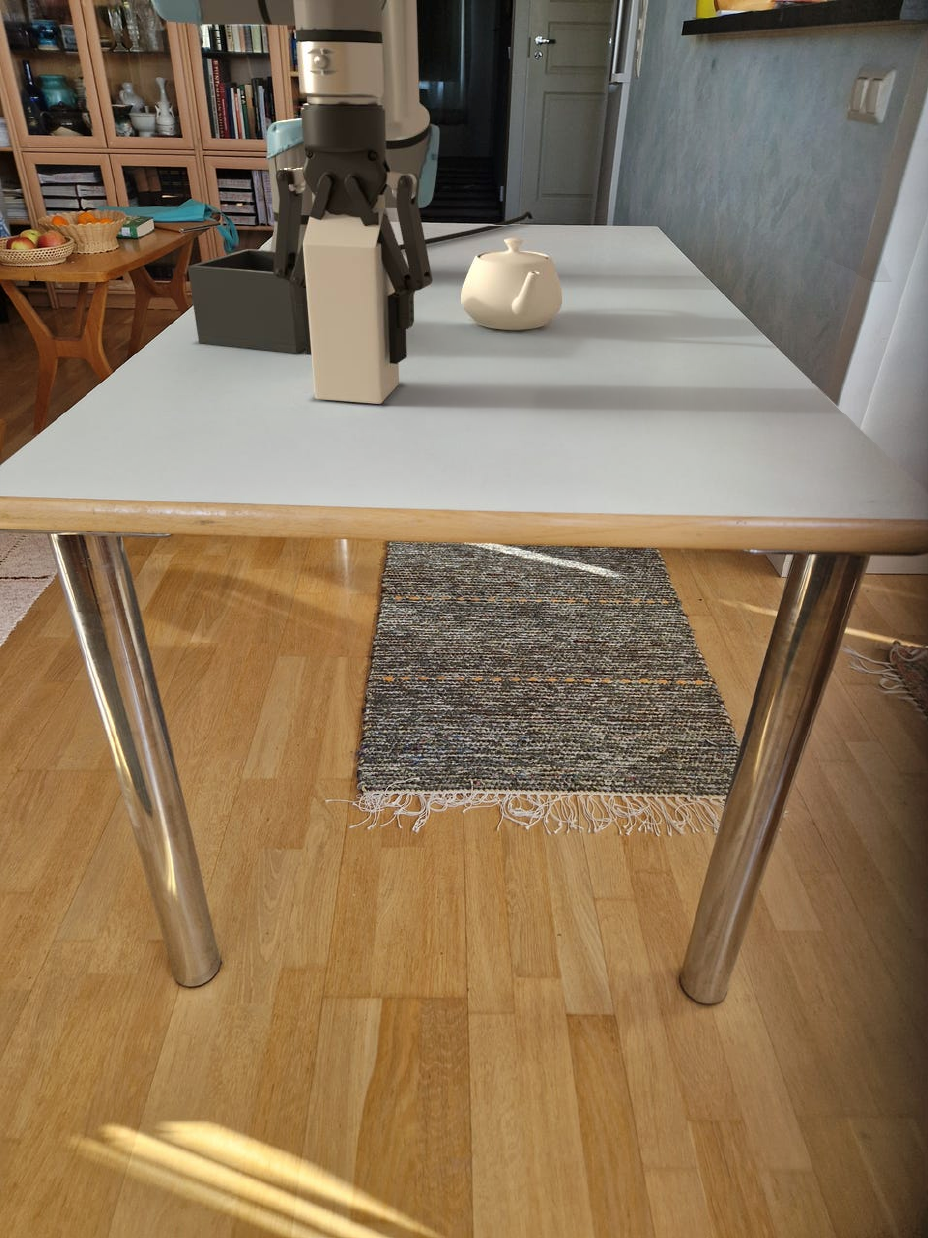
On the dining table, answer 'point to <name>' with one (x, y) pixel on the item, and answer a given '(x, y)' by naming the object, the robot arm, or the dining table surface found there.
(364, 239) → the milk carton
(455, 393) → the dining table surface
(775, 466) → the dining table surface
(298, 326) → the waste bin
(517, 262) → the teapot
